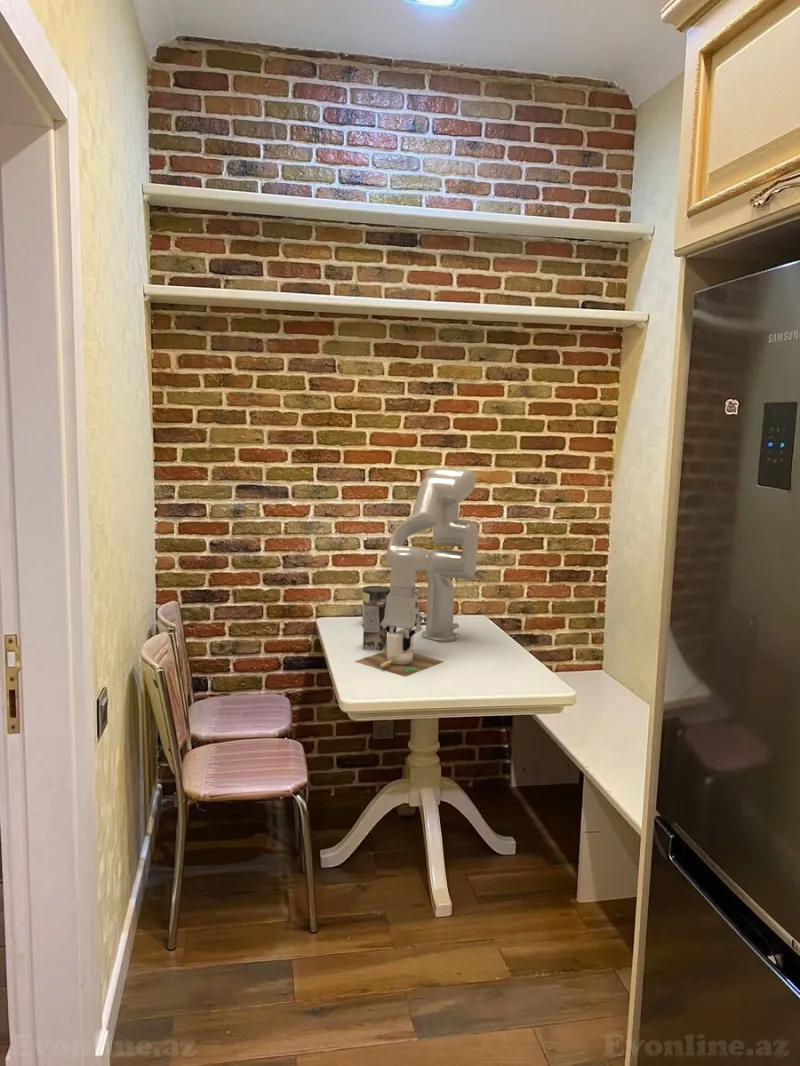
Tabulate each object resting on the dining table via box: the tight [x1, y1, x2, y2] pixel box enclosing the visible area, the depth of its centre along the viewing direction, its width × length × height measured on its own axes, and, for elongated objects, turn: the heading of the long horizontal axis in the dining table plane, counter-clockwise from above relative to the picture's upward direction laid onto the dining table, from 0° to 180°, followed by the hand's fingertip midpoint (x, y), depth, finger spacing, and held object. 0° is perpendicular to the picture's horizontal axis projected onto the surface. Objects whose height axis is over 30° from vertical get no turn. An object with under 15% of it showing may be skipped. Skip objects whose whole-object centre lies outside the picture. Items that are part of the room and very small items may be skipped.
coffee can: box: [361, 585, 390, 625], centre depth 279 cm, size 10×10×14 cm
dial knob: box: [380, 628, 415, 667], centre depth 231 cm, size 16×8×9 cm, turn 150°
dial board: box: [354, 650, 445, 678], centre depth 234 cm, size 20×20×2 cm
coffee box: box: [362, 600, 388, 652], centre depth 248 cm, size 9×6×16 cm
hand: (400, 648), depth 233 cm, fingers closed on dial knob, 3 cm apart
